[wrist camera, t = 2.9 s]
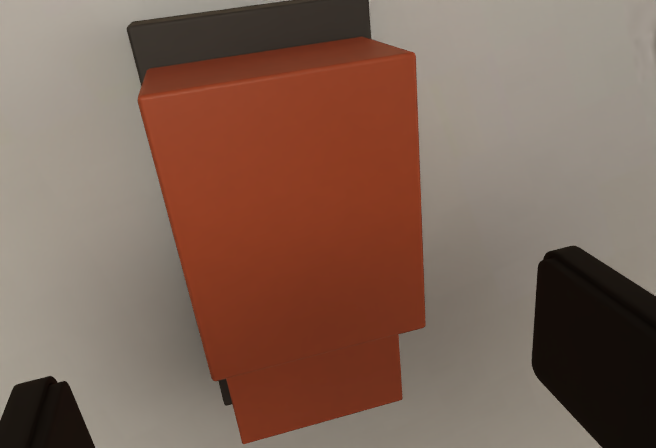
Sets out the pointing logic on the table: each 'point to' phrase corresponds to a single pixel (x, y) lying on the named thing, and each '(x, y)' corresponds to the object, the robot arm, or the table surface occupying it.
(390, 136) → the shoe
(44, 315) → the table surface
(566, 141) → the table surface
